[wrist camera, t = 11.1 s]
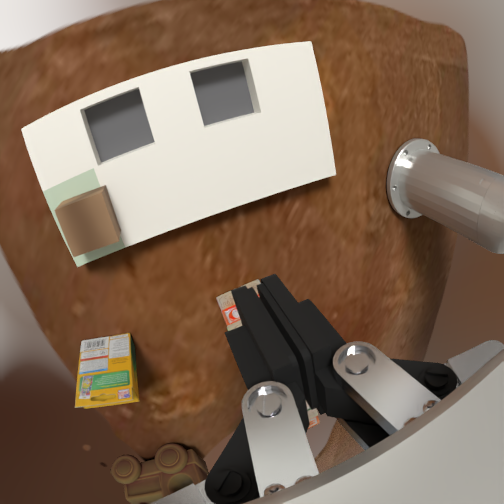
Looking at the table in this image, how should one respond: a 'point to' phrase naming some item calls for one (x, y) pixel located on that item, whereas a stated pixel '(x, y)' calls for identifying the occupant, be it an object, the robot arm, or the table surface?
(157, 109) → the trap board
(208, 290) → the table surface
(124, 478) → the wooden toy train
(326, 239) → the table surface
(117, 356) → the crayon box
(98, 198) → the walnut block
